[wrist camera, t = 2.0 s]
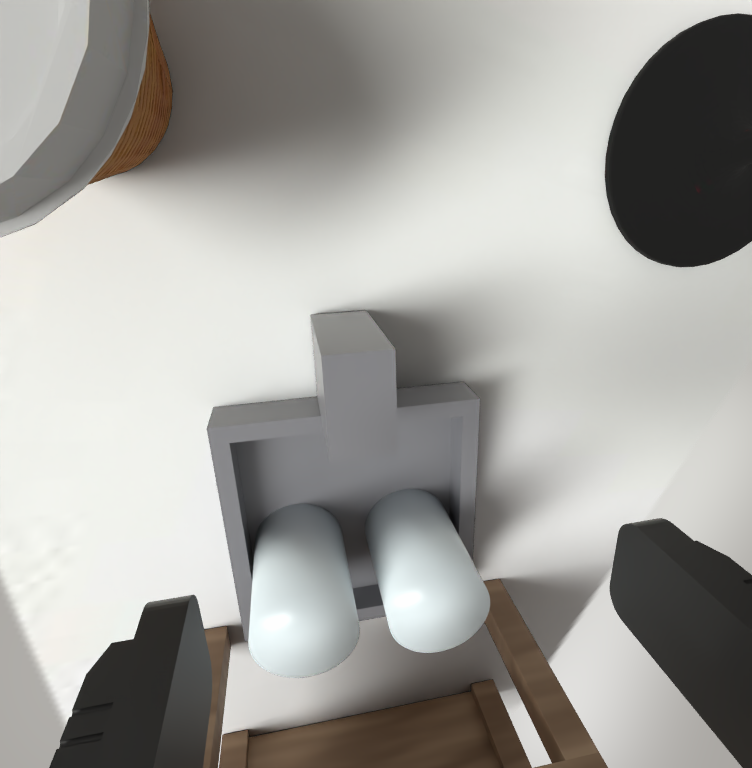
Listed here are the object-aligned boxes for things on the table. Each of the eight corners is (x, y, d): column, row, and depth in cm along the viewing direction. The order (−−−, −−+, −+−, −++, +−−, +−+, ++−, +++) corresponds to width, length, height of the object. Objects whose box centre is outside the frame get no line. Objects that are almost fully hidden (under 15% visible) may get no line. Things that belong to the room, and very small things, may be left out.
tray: (199, 320, 21) (165, 375, 15) (463, 300, 23) (534, 341, 17) (247, 603, 27) (238, 730, 21) (455, 569, 29) (505, 675, 23)
